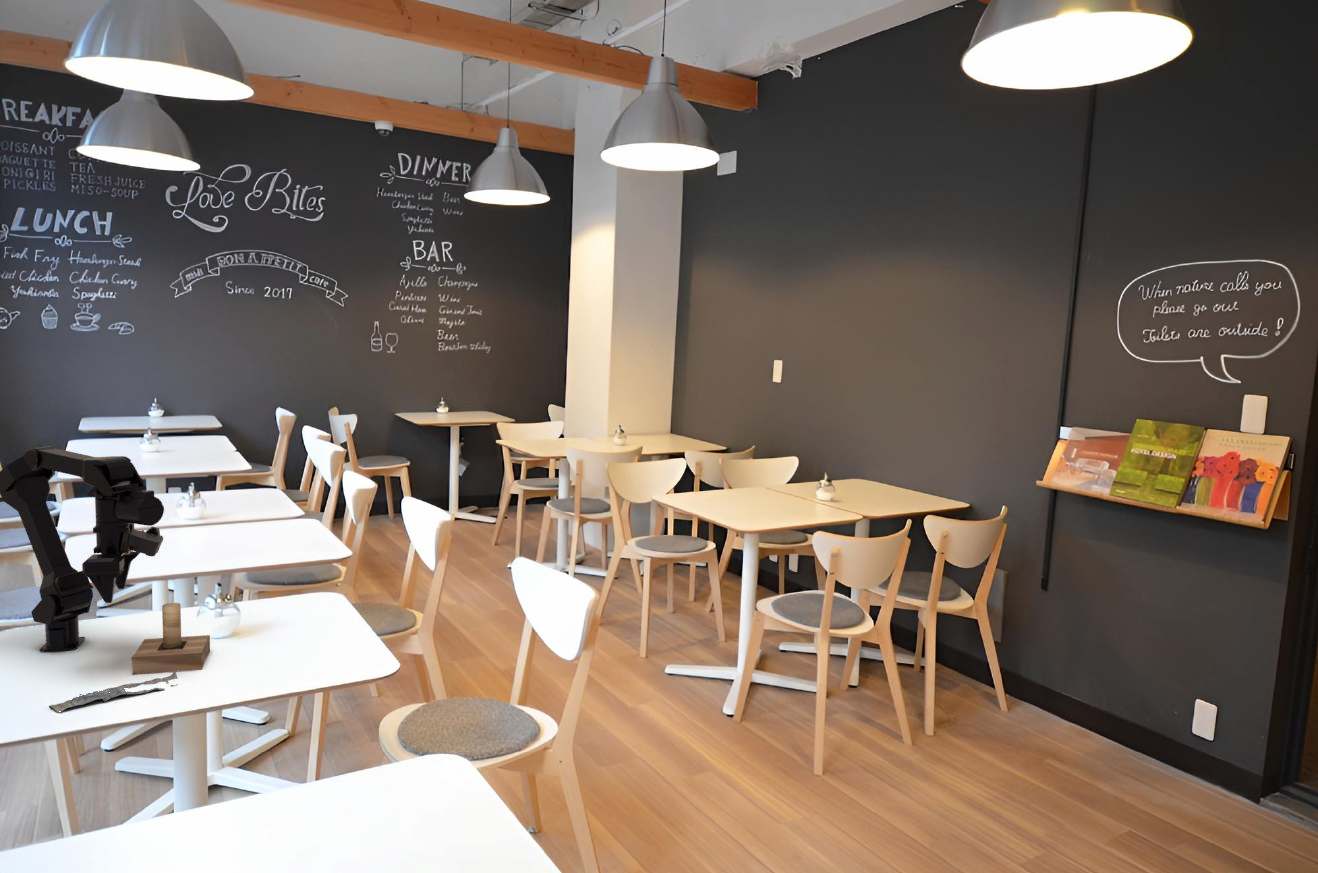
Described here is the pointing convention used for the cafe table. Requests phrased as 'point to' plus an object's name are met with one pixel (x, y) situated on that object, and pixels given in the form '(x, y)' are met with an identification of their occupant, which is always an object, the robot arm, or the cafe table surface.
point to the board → (171, 655)
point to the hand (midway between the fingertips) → (115, 595)
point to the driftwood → (111, 693)
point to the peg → (171, 626)
